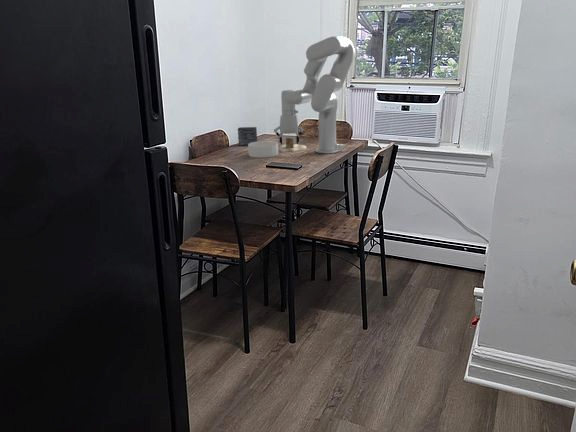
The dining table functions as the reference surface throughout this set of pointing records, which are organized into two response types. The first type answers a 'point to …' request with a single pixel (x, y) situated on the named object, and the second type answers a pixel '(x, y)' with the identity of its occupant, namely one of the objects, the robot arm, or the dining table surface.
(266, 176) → the dining table surface
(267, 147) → the bowl
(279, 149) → the lid
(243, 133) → the small box
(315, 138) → the dining table surface
